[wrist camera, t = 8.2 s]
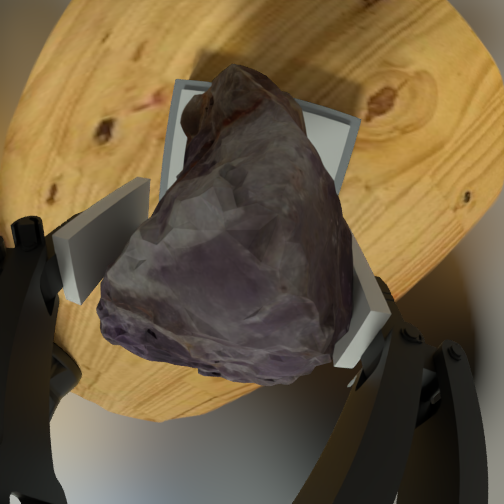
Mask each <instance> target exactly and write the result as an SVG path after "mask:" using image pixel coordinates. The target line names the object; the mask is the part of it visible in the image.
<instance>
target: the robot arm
mask: <svg viewBox="0 0 504 504" xmlns="http://www.w3.org/2000/svg"><path fill="white" fill-rule="evenodd" d="M149 192H150V179H147V178H141V177H136V178H135V179H133V180H131V181H130V182H128V183H126V184H125V185H123V186H122V187H120V188H118V189H117V190H115V191H114V192H112V193H111V194H109V195H107V196H106V197H104V198H103V199H101V200H100V201H98V202H97V203H95V204H94V205H92V206H91V207H90V208H88V209H87V210H85V211H83V212H80V213H78V214H75V215H73V216H72V217H71V218H69V219H68V220H67V222H66V221H65V222H64V223H62V224H61V226H58V227H57V228H56V229H54V230H53V231H52V232H50V233H49V234H48V235H47V236H44V230H43V223H42V219H41V218H40V217H38V216H27V217H23V218H20V219H18V220H17V221H15V222H14V223H13V224H12V225H11V230H12V235H13V239H14V244H15V248H6V247H5V243H4V239H3V238H2V237H1V236H0V504H10V498H9V497H10V495H11V494H12V495H14V496H16V497H17V498H18V499H19V501H20V502H21V504H67V500H66V497H65V493H64V490H63V488H62V486H61V484H60V483H59V481H58V480H57V478H56V476H55V473H54V468H53V460H52V451H51V440H50V421H51V419H52V416H53V414H54V412H55V410H56V408H57V406H58V404H59V402H60V400H61V399H62V398H63V397H64V396H65V395H66V394H67V393H69V392H70V391H71V390H72V389H73V388H74V387H76V386H77V384H78V383H79V381H80V379H81V372H80V370H79V368H78V367H77V365H76V364H75V363H74V361H73V360H72V359H71V358H70V357H69V356H68V355H67V354H66V353H65V352H64V351H63V350H62V349H61V348H59V347H58V346H57V345H56V344H54V343H53V339H54V332H55V325H56V319H57V313H58V307H59V296H58V292H59V291H60V290H61V289H62V288H63V289H64V293H65V297H66V299H67V300H69V301H72V302H74V303H77V304H79V305H82V304H83V302H84V301H85V300H86V298H87V297H88V296H89V295H90V293H91V292H92V291H93V290H94V288H95V287H96V286H97V285H98V283H99V282H100V281H101V280H102V278H103V277H104V276H105V273H106V270H107V266H108V265H109V264H110V263H112V262H113V261H114V260H116V259H117V258H118V257H119V255H120V254H121V253H122V252H123V250H124V247H125V245H126V244H127V242H128V241H129V240H130V237H131V236H132V234H133V233H134V232H135V230H136V229H137V228H138V227H139V225H140V224H141V223H143V222H144V221H146V220H147V219H148V209H149ZM347 225H348V224H347ZM350 231H351V230H350ZM351 233H352V231H351ZM352 252H353V310H352V318H351V322H350V327H349V331H348V332H347V333H346V334H345V335H344V336H343V337H342V338H341V339H340V340H339V341H338V342H337V343H336V344H335V348H334V353H333V362H334V366H335V367H345V368H353V367H354V366H355V365H356V364H357V362H358V361H359V360H360V358H361V361H362V365H363V367H362V369H361V370H360V371H359V372H358V374H357V375H356V376H355V377H354V378H353V380H352V381H351V382H350V383H349V385H348V387H351V385H352V384H353V383H354V384H353V387H352V389H351V392H350V394H349V396H348V399H347V401H346V404H345V406H344V408H343V411H342V413H341V415H340V417H339V419H338V422H337V424H336V426H335V428H334V430H333V432H332V434H331V436H330V438H329V440H328V442H327V444H326V446H325V448H324V450H323V452H322V454H321V456H320V458H319V460H318V461H317V463H316V465H315V467H314V469H313V470H312V472H311V474H310V476H309V477H308V479H307V480H306V482H305V484H304V486H303V487H302V489H301V490H300V492H299V493H298V495H297V497H296V498H295V500H294V501H293V503H292V504H393V503H394V500H395V498H396V495H397V492H398V495H397V504H488V467H487V454H486V444H485V436H484V429H483V423H482V417H481V412H480V407H479V402H478V397H477V393H476V389H475V385H474V381H473V377H472V374H471V370H470V366H469V363H468V360H467V356H466V354H465V352H464V351H463V349H462V348H461V346H460V345H458V343H456V342H454V341H452V340H445V341H444V342H442V344H441V345H440V346H439V347H438V348H435V347H433V346H430V345H428V344H425V341H424V337H423V335H422V334H421V332H420V331H419V330H418V329H417V328H416V327H415V326H413V325H412V324H410V323H407V322H404V320H403V318H402V315H401V313H400V311H399V309H398V307H397V305H396V303H395V302H394V298H393V296H392V295H391V292H390V290H389V288H388V286H387V285H386V284H385V282H384V281H383V280H382V279H381V278H380V277H377V276H374V274H373V272H372V270H371V268H370V266H369V264H368V262H367V260H366V258H365V256H364V254H363V252H362V250H361V248H360V246H359V245H358V243H357V241H356V239H355V237H354V235H353V233H352ZM439 392H440V394H441V399H440V400H439V401H437V402H436V403H434V398H433V397H434V396H435V395H436V394H438V393H439Z"/></svg>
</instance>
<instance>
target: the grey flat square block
mask: <svg viewBox="0 0 504 504" xmlns="http://www.w3.org/2000/svg"><path fill="white" fill-rule="evenodd" d="M211 85H212V82H203V81H193V80H181V79H176V80H175V85H174V90H173V96H172V101H171V107H170V113H169V119H168V125H167V132H166V139H165V146H164V154H163V163H162V172H161V182H160V194H159V201H160V200H161V199H162V197H163V196H164V195H165V193H166V191H167V190H168V189H169V188H170V187H171V185H173V183H174V182H175V181H176V180H177V178H176V176H177V175H178V174H179V173H180V172H181V171H182V170H183V163H184V154H185V148H186V142H187V137H186V135H185V133H184V132H183V129H182V127H181V124H180V119H181V114H182V112H183V109H184V108H185V106H186V104H187V103H188V102H189V101H190V100H191V98H192V97H193V96H194V95H197V94H203V93H204V92H206V91H207V90H208V89H209V88H210V87H211ZM293 99H294V100H295V101H296V102H297V103H298V104H299V106H300V107H301V108H302V112H303V116H304V121H305V126H306V132H307V137H308V139H309V140H310V141H311V143H312V144H313V145H314V147H315V148H316V150H317V152H318V154H319V156H320V158H321V160H322V163H323V165H324V167H325V168H326V170H327V171H328V173H329V174H330V176H331V177H332V178H333V180H334V183H335V189H336V193H337V195H339V192H340V189H341V186H342V182H343V179H344V176H345V173H346V170H347V167H348V164H349V160H350V157H351V154H352V150H353V147H354V144H355V140H356V137H357V133H358V130H359V126H360V123H361V119H359V118H357V117H354V116H351V115H348V114H345V113H342V112H339V111H336V110H333V109H330V108H327V107H324V106H321V105H317V104H314V103H310V102H307V101H303V100H299V99H295V98H293Z"/></svg>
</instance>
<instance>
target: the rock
mask: <svg viewBox="0 0 504 504" xmlns="http://www.w3.org/2000/svg"><path fill="white" fill-rule="evenodd" d="M180 124H181V127H182V129H183V132H184V133H185V135H186V137H187V142H186V148H185V154H184V163H183V170H182V171H181V172H180V173H179V174H178V175H177V176H176V178H177V180H176V181H175V182H174V183H173V185H171V187H170V188H169V189H168V190H167V191H166V193H165V195H164V196H163V197H162V199H161V200H160V201H159V203H158V205H157V207H156V208H155V210H154V212H153V214H152V216H151V217H150V218H149V219H147V220H146V221H144V222H143V223H141V224H140V225H139V227H138V228H137V229H136V230H135V232H134V233H133V234H132V236H131V237H130V240H129V241H128V242H127V244H126V245H125V247H124V250H123V252H122V253H121V254H120V255H119V257H118V258H117V259H116V260H114V261H113V262H112V263H110V264H109V265H108V266H107V270H106V273H105V276H104V278H103V280H102V282H101V298H100V301H99V303H98V306H97V308H96V310H97V314H98V316H99V318H100V329H101V333H102V335H103V337H104V338H105V339H106V340H107V341H109V342H110V343H111V344H113V345H121V346H122V347H124V348H125V349H127V350H128V351H130V352H132V353H133V354H135V355H137V356H139V357H142V358H144V359H147V360H149V361H158V362H167V363H171V364H174V365H180V366H188V367H192V368H198V374H201V375H203V376H213V377H222V378H225V379H227V380H230V381H233V382H241V383H256V384H259V385H265V386H272V385H276V384H279V383H281V384H286V385H289V384H290V383H293V382H294V381H295V380H296V379H297V378H298V377H299V376H301V375H306V374H310V373H311V372H312V370H313V369H314V367H315V366H317V365H321V364H325V363H329V362H331V361H332V357H333V353H334V348H335V344H336V343H337V342H338V341H339V340H340V339H341V338H342V337H343V336H344V335H345V334H346V333H347V332H348V331H349V327H350V322H351V318H352V310H353V252H352V233H351V231H350V228H349V226H348V225H347V223H346V221H345V219H344V218H343V214H342V208H341V203H340V200H339V197H338V195H337V193H336V189H335V183H334V180H333V178H332V177H331V176H330V174H329V173H328V171H327V170H326V168H325V167H324V165H323V163H322V160H321V158H320V156H319V154H318V152H317V150H316V148H315V147H314V145H313V144H312V143H311V141H310V140H309V139H308V137H307V132H306V126H305V121H304V116H303V112H302V108H301V107H300V106H299V104H298V103H297V102H296V101H295V100H294V99H293V97H292V96H291V95H290V94H289V93H287V92H283V91H281V90H280V89H279V88H278V87H277V86H276V85H275V84H274V83H273V82H272V81H271V80H270V79H269V78H268V77H267V76H265V75H263V74H262V73H260V72H258V71H256V70H253V69H250V68H248V67H245V66H241V65H236V64H231V65H230V66H229V67H227V68H226V69H225V70H223V71H222V72H221V73H220V74H219V75H218V76H217V77H216V78H215V79H214V80H213V81H212V85H211V87H210V88H209V89H208V90H207V91H206V92H204V93H203V94H197V95H194V96H193V97H192V98H191V100H190V101H189V102H188V103H187V104H186V106H185V108H184V109H183V112H182V114H181V119H180Z"/></svg>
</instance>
